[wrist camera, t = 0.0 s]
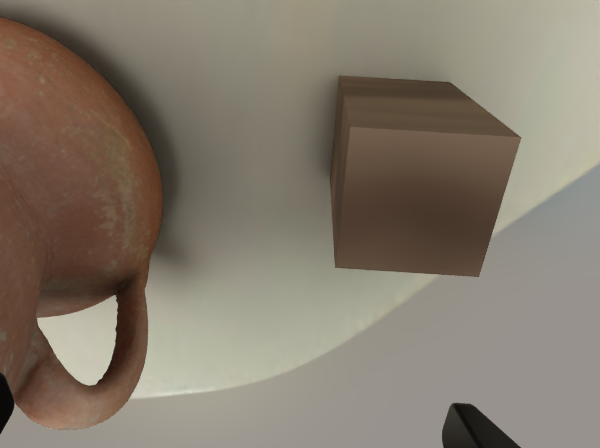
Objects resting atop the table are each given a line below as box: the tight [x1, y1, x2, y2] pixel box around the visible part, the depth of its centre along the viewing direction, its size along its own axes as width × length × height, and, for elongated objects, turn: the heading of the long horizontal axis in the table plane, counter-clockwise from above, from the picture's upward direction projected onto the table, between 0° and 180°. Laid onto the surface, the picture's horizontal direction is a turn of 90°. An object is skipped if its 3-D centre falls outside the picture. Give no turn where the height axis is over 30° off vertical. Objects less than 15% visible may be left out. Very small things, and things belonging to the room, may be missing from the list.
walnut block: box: [330, 76, 521, 277], centre depth 18 cm, size 5×5×8 cm
